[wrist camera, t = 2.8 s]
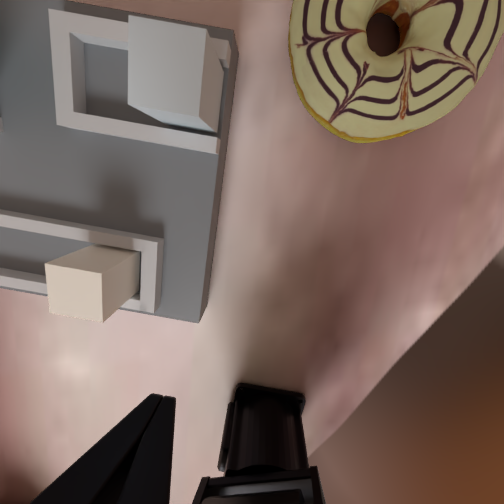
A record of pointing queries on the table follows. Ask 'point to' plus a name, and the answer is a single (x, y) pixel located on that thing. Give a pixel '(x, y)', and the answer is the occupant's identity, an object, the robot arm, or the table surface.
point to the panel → (102, 157)
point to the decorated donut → (389, 62)
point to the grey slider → (174, 73)
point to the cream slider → (92, 281)
